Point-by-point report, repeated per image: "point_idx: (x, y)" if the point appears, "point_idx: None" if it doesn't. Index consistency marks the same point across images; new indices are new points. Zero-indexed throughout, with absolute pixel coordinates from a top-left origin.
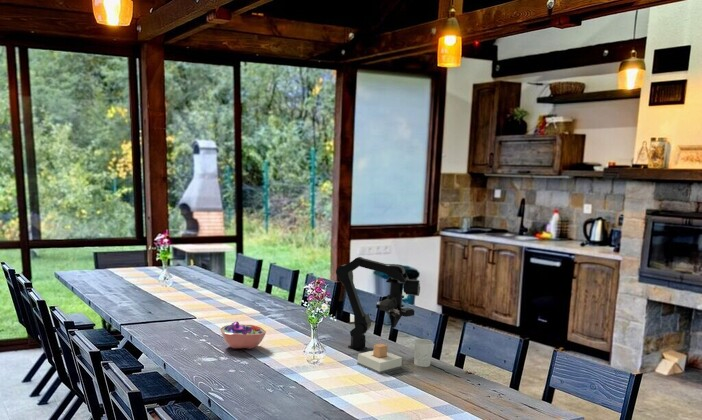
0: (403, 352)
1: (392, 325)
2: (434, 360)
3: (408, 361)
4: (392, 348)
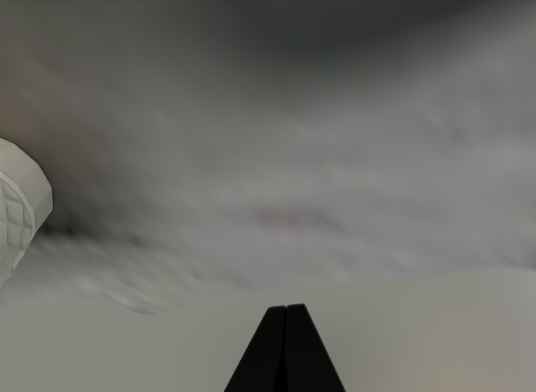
0: (283, 218)
1: (288, 331)
2: (78, 292)
3: (67, 128)
4: (405, 199)
